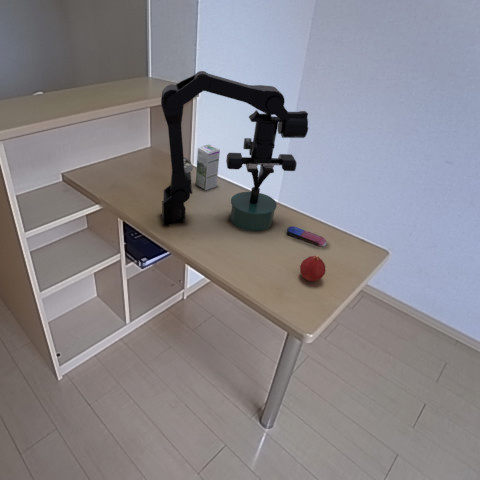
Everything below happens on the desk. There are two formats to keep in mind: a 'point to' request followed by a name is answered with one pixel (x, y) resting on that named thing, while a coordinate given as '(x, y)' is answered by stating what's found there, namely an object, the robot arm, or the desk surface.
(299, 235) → the eraser
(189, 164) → the food container
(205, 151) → the syrup box
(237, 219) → the pot
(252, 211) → the lid
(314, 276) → the onion
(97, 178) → the desk surface
